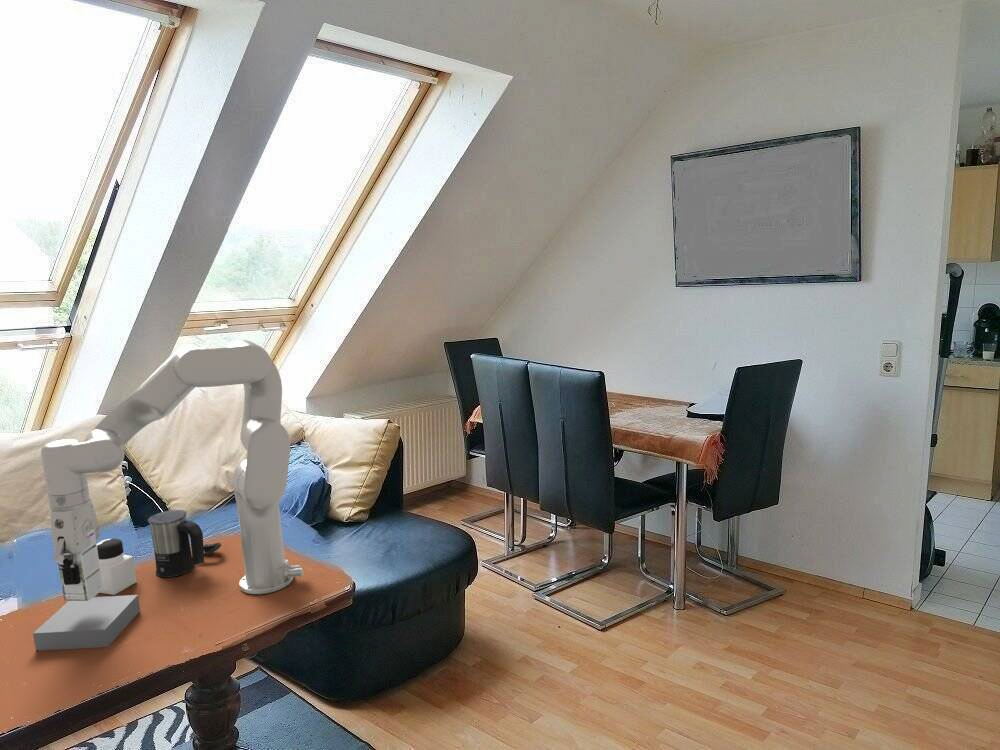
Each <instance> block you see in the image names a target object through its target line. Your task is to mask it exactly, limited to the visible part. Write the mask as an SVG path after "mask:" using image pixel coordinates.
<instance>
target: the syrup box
mask: <svg viewBox="0 0 1000 750" xmlns="http://www.w3.org/2000/svg"><path fill="white" fill-rule="evenodd" d="M90 531H91V532H90ZM90 531H89V533H88V534H87V535H89V534H90V535H89V536H90V546H88V547H87V548H86V549H85V550H84V551H82V552H81V553H79V554H76V566H78V567H79V574H80V580H81V582H80V583H79V584H75V585H65V584H64V579H63V573H62V568H60V566H59V565H58V564H57V565H58V571H59V577H60V578H59V579H60V582H61V588H62V595H63V600H64V601H67V602H68V601H89V600H90V599H92V598H93V597H97V595H98V594H101V593H100V592H101V591H102V590H103V589H104V588H103V582H102V576H101V570H100V564H99V557H98V550H97V544H98V543H97V540H96V537H95V531H94V529H92V530H90ZM87 538H89V537H87ZM69 552H70V551H69V550H68V549H67V550H65V553H69ZM66 559H69V560H70V561H71V555H67V556H66Z"/></svg>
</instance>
